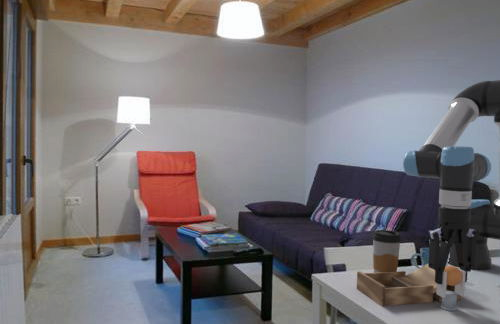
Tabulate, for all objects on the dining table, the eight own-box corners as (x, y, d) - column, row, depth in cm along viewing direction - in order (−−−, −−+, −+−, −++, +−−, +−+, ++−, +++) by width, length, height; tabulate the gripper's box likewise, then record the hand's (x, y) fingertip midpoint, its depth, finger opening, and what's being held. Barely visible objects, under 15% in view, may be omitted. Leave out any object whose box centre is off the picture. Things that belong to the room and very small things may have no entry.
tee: (450, 304, 115) (450, 288, 115) (460, 310, 111) (461, 294, 111) (437, 305, 114) (437, 289, 114) (447, 311, 110) (448, 294, 110)
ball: (452, 281, 116) (453, 262, 116) (465, 287, 111) (466, 268, 111) (436, 282, 115) (436, 263, 114) (449, 289, 110) (450, 269, 110)
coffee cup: (395, 277, 137) (397, 230, 137) (401, 286, 129) (404, 236, 128) (368, 275, 138) (370, 229, 137) (373, 284, 130) (375, 234, 129)
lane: (432, 284, 132) (434, 259, 132) (464, 299, 119) (465, 273, 119) (356, 288, 126) (357, 262, 125) (381, 305, 113) (382, 277, 113)
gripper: (434, 209, 106) (429, 303, 107) (495, 208, 110) (490, 297, 112) (415, 204, 113) (411, 292, 114) (473, 203, 117) (468, 287, 119)
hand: (450, 294), depth 113 cm, fingers closed on ball, 5 cm apart
